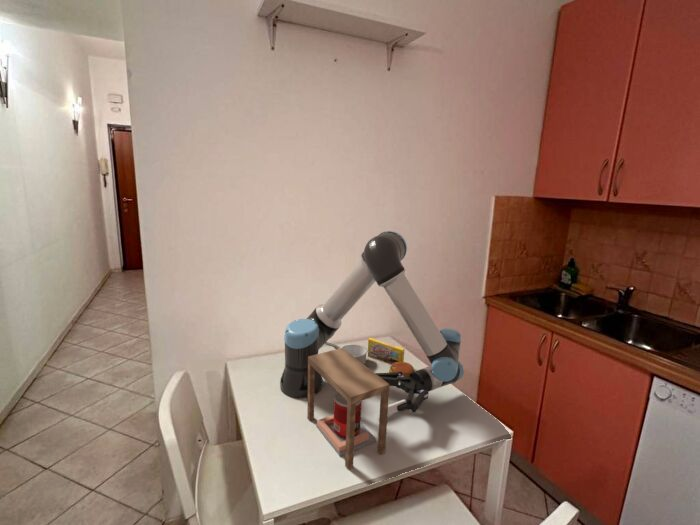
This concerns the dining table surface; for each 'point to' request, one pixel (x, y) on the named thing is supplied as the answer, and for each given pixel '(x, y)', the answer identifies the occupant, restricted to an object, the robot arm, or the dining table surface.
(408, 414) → the dining table surface
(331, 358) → the bench
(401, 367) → the burger
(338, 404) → the canned food
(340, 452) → the seat
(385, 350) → the candy box
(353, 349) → the saucepan
